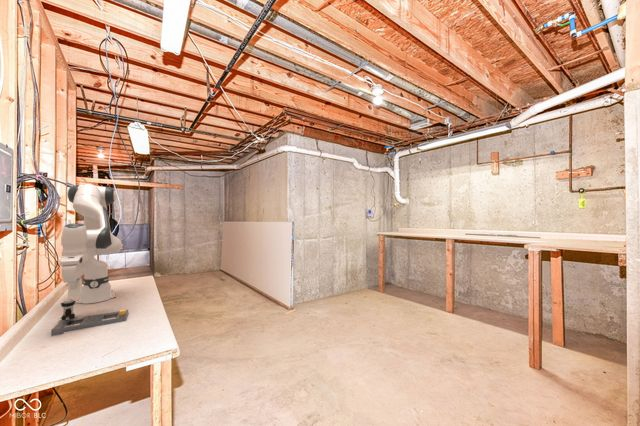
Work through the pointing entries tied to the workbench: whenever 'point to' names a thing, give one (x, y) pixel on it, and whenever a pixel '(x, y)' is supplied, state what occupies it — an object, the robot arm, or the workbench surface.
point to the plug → (77, 291)
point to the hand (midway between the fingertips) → (75, 287)
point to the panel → (88, 322)
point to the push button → (67, 310)
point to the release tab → (122, 312)
